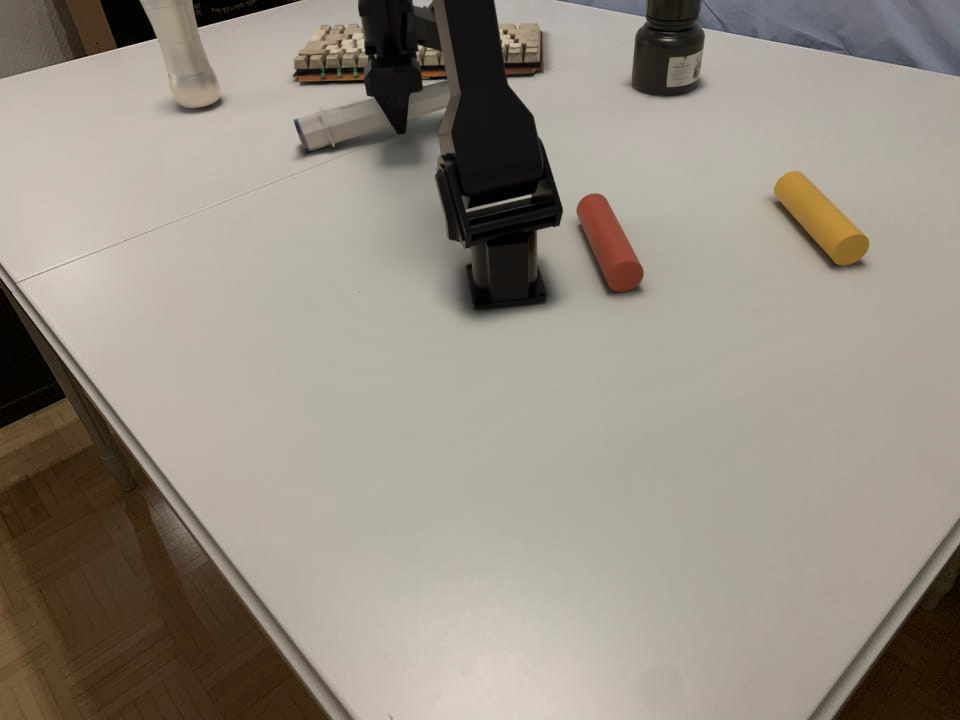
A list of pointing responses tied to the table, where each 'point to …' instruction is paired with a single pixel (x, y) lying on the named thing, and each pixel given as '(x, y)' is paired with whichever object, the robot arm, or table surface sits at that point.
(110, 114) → the table surface
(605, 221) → the rod red
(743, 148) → the table surface
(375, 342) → the table surface
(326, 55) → the mechanical keyboard
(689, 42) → the ink bottle
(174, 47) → the plastic bottle
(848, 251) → the rod yellow
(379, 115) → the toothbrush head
